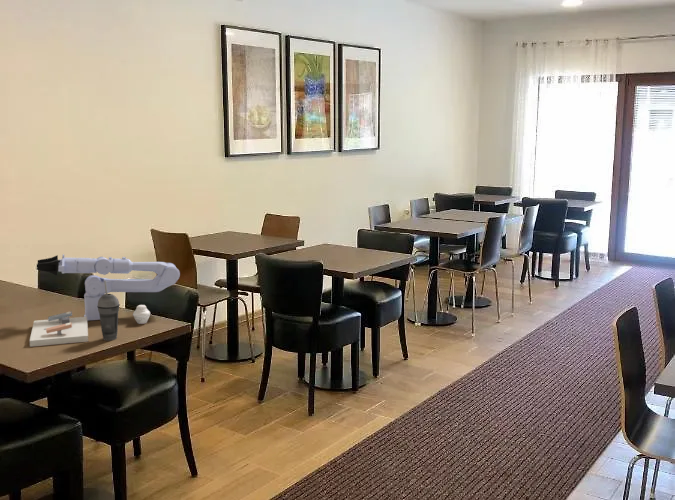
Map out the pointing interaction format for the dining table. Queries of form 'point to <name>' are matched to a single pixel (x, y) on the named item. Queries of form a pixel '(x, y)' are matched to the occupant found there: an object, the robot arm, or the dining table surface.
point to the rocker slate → (60, 316)
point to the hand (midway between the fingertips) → (37, 264)
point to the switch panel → (59, 332)
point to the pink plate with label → (59, 327)
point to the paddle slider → (65, 320)
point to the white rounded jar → (141, 314)
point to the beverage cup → (108, 315)
